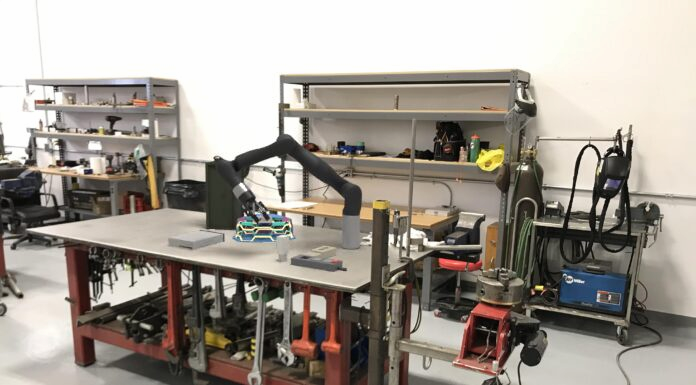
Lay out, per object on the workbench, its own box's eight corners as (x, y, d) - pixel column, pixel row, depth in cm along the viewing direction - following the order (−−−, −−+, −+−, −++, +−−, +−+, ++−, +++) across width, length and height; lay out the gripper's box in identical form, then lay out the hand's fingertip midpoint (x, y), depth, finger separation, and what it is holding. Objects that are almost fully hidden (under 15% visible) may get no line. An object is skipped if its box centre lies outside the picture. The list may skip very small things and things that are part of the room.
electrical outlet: (300, 252, 230) (324, 245, 245) (300, 260, 231) (324, 253, 245) (312, 254, 226) (336, 247, 241) (312, 263, 227) (336, 255, 241)
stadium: (296, 233, 290) (296, 209, 288) (295, 243, 266) (295, 216, 264) (235, 233, 287) (235, 209, 285) (229, 243, 263) (228, 216, 261)
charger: (282, 258, 232) (282, 234, 230) (288, 259, 230) (289, 235, 229) (276, 261, 228) (276, 236, 226) (283, 262, 226) (283, 237, 225)
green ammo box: (215, 223, 315) (214, 160, 310) (244, 224, 314) (243, 161, 309) (206, 229, 296) (205, 162, 291) (236, 230, 296) (236, 163, 291)
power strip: (300, 260, 229) (300, 252, 229) (350, 268, 218) (350, 260, 217) (290, 264, 222) (290, 256, 222) (342, 272, 211) (342, 264, 210)
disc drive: (224, 242, 265) (224, 233, 264) (193, 251, 245) (193, 241, 245) (200, 238, 273) (200, 229, 273) (168, 246, 254) (167, 237, 253)
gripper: (239, 190, 228) (259, 218, 224) (257, 188, 241) (276, 214, 237) (230, 200, 231) (249, 228, 227) (248, 197, 243) (267, 223, 240)
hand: (263, 220), depth 232 cm, fingers open, 8 cm apart
